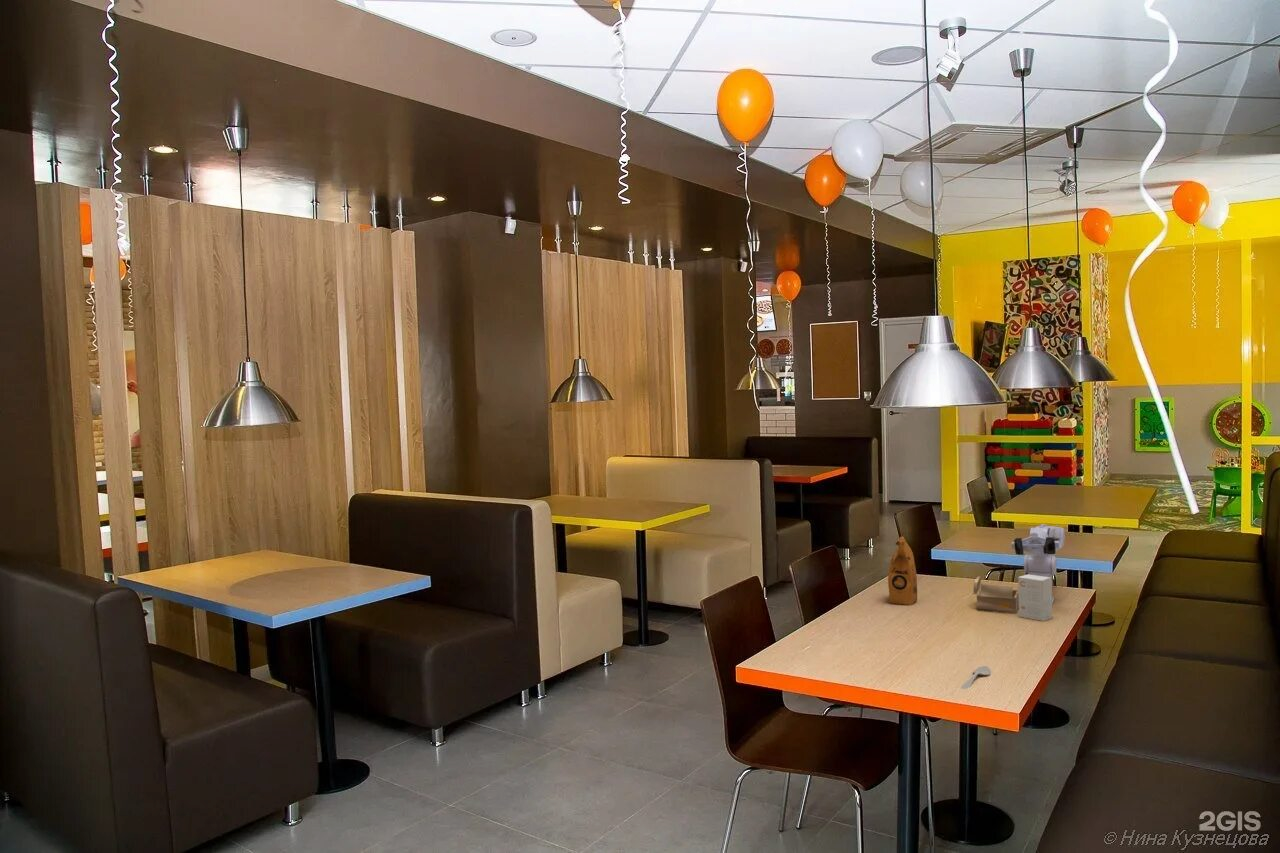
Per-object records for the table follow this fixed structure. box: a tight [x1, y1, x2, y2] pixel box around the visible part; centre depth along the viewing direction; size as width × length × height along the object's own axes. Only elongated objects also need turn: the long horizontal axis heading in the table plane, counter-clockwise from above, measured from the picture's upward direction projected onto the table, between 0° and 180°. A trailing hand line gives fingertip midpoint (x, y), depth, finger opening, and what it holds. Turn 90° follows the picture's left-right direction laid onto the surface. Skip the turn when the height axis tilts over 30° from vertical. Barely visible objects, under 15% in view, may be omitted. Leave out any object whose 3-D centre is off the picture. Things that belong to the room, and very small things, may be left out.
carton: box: [976, 588, 1019, 614], centre depth 292 cm, size 12×12×5 cm
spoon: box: [960, 665, 992, 690], centre depth 220 cm, size 4×21×2 cm, turn 141°
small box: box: [1017, 573, 1053, 622], centre depth 278 cm, size 8×6×13 cm
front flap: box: [980, 583, 1013, 599], centre depth 286 cm, size 4×10×1 cm
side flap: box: [972, 575, 982, 595], centre depth 295 cm, size 4×10×1 cm
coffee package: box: [887, 535, 918, 606], centre depth 305 cm, size 10×12×22 cm
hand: (1031, 550), depth 282 cm, fingers open, 7 cm apart
